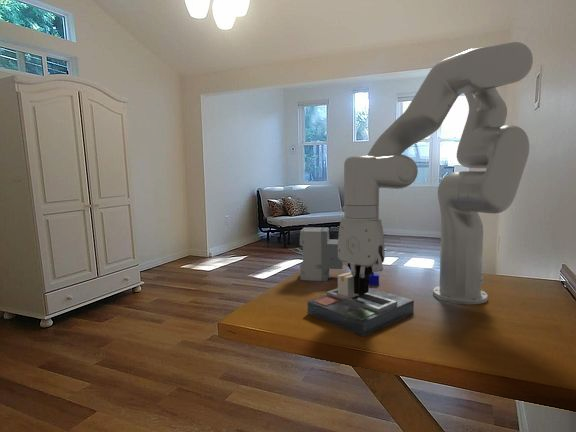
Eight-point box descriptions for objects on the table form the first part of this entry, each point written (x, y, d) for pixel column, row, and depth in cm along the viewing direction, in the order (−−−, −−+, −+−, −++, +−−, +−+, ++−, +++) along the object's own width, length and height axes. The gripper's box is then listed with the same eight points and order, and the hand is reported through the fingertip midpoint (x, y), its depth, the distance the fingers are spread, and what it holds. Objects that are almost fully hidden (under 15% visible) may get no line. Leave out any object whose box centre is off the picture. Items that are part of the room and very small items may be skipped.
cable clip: (378, 286, 103) (379, 265, 103) (362, 285, 104) (362, 265, 103) (374, 274, 115) (374, 255, 115) (360, 274, 116) (360, 255, 115)
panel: (358, 295, 95) (358, 280, 95) (413, 312, 83) (413, 295, 82) (307, 313, 84) (307, 297, 83) (363, 336, 71) (363, 317, 71)
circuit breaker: (347, 281, 108) (347, 231, 106) (300, 279, 110) (299, 231, 109) (348, 274, 115) (348, 227, 113) (304, 273, 118) (303, 227, 116)
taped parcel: (349, 292, 88) (349, 271, 87) (359, 295, 86) (359, 274, 85) (337, 296, 85) (337, 275, 85) (347, 299, 83) (347, 277, 83)
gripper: (325, 211, 84) (325, 289, 86) (379, 216, 72) (378, 305, 74) (346, 209, 88) (346, 282, 90) (400, 213, 77) (399, 297, 79)
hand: (361, 292), depth 82 cm, fingers closed
